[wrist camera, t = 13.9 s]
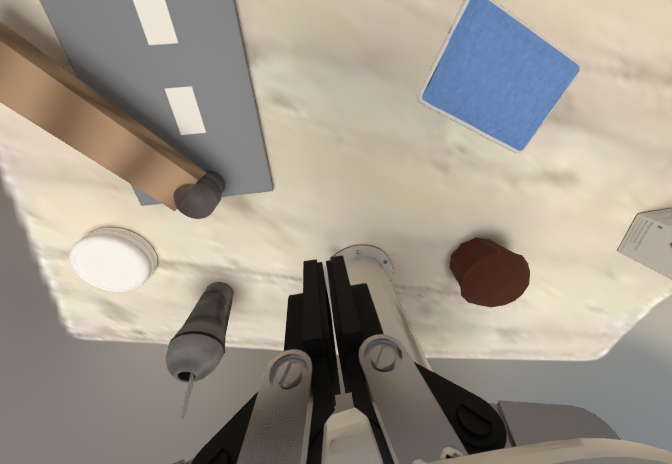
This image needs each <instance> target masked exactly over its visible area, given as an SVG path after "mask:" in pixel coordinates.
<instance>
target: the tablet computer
mask: <svg viewBox="0 0 672 464" xmlns="http://www.w3.org/2000/svg"><path fill="white" fill-rule="evenodd" d="M580 69H581V65H580V63H579V62H577V61H576V60H574V59H573V58H572V57H570V56H569V55H568V54H566V53H565V52H564V51H562V50H561V49H559V48H558V47H557V46H555V45H554V44H553V43H551V42H550V41H549V40H547V39H546V38H545V37H543V36H542V35H541V34H539V33H538V32H536V31H535V30H534V29H532V28H531V27H529V26H528V25H527V24H525V23H524V22H523V21H521V20H520V19H519V18H517V17H516V16H515V15H513V14H512V13H511V12H510V11H508V10H506V9H505V8H504V7H503V6H501V5H499V4H498V3H496V2H495V1H494V0H464V2H463V4H462V6H461V8H460V11H459V12H458V14H457V16H456V18H455V20H454V22H453V24H452V26H451V28H450V30H449V32H448V34H447V36H446V38H445V40H444V42H443V44H442V46H441V48H440V50H439V52H438V54H437V56H436V58H435V60H434V62H433V64H432V66H431V68H430V70H429V72H428V74H427V76H426V78H425V80H424V82H423V84H422V86H421V88H420V90H419V92H418V95H417V100H418V102H419V103H421V104H422V105H424V106H426V107H428V108H430V109H432V110H434V111H436V112H438V113H440V114H442V115H444V116H446V117H448V118H449V119H451V120H453V121H455V122H457V123H459V124H461V125H463V126H465V127H467V128H468V129H470V130H472V131H474V132H476V133H478V134H480V135H482V136H484V137H486V138H488V139H490V140H492V141H493V142H495V143H497V144H499V145H501V146H503V147H505V148H507V149H509V150H510V151H512V152H514V153H520V152H522V151H523V150H524V149H525V148H526V146H527V145H528V143H529V142H530V141H531V139H532V138H533V137H534V135H535V134H536V132H537V131H538V130H539V128H540V127H541V125H542V124H543V123H544V121H545V120H546V118H547V117H548V116H549V114H550V113H551V111H552V110H553V109H554V107H555V106H556V104H557V103H558V102H559V100H560V99H561V97H562V96H563V95H564V93H565V92H566V90H567V89H568V88H569V86H570V85H571V83H572V82H573V81H574V79H575V78H576V77H577V75H578V74H579V72H580Z"/></svg>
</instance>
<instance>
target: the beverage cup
mask: <svg viewBox="0 0 672 464" xmlns="http://www.w3.org/2000/svg"><path fill="white" fill-rule="evenodd" d="M232 298H233V290H232V288H231V287H230V286H229V285H227V284H225V283H220V282H217V283H213V284H210V285H209V286H208V288H207V289H206V291H205V292H204V293H203V295H202V296H201V298H200V299H199V301H198V303H197V304H196V306H195V308H194V309H193V311H192V312H191V314H190V316H189V317H188V319H187V320H186V322H185V324H184V325H183V327H182V328H181V329H180V330H179V331H178V332H177V334H176V335H175V336H174V338H173V339H171V341H170V343H169V347H168V351H167V355H166V362H167V368H168V370H169V372H170V374H171V375H172V376H173V377H174V378H175V379H177V380H179V381H182V382H189V383H188V387H187V391H186V395H185V400H184V404H183V407H182V411H181V416H180V418H185V415H186V411H187V407H188V402H189V398H190V394H191V390H192V386H193V382H195V381H198V380H201V379H203V378H205V377H206V376H207V375H209V374H210V373H211V372H212V371H213V370H214V369H215V368H216V367H217V365H218V364H219V362H220V360H221V358H222V356H223V355H224V353H225V335H226V330H227V325H228V320H229V315H230V310H231V305H232Z"/></svg>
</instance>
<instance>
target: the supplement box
mask: <svg viewBox="0 0 672 464" xmlns="http://www.w3.org/2000/svg"><path fill="white" fill-rule="evenodd" d="M617 251H618V252H620V253H622V254H624V255H626V256H627V257H629V258H631V259H633V260H635V261H637V262H639V263H641V264H643V265H645V266H646V267H648V268H650V269H652V270H654V271H656V272H658V273H660V274H662V275H664V276H666V277H667V278H669V279H671V280H672V208H671V209H664V210H658V211H651V212H645V213H639V214H637V216H636V218H635V220H634V222H633V223H632V225H631V227H630V229H629V230H628V232H627V234H626V236H625V238H624V240H623V241H622V243H621V245H620V247H619V249H618V250H617Z"/></svg>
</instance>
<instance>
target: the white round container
mask: <svg viewBox="0 0 672 464" xmlns="http://www.w3.org/2000/svg"><path fill="white" fill-rule="evenodd" d="M69 261H70V264H71V266H72V268H73V270H74V271H75V272H76V273H77V275H78V276H79V277H80V278H82V279H83V280H84V281H86V282H87V283H89V284H91V285H92V286H95V287H97V288H100V289H103V290H107V291H114V292H126V291H131V290H134V289H137V288H139V287H140V286H142V285H143V284H144V283H145V282H146V281H147V280H148V278H149V277H150V276H151V274H153V272H154V271H155V269H156V266H157V256H156V253H155V251H154V249H153V248H152V246H151V245H150V244H149V243H148V242H147V241H146V240H145V239H144V238H142V237H141V236H139V235H137V234H135V233H133V232H131V231H128V230H125V229H121V228H112V227H109V228H101V229H98V230H95V231H92V232H91V233H89V234H88V235H86V236H85V237H83V238H82V239H81V240H79V241H77V242H76V243H75V244H74V245H73V247H72V248H71V250H70V253H69Z"/></svg>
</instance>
